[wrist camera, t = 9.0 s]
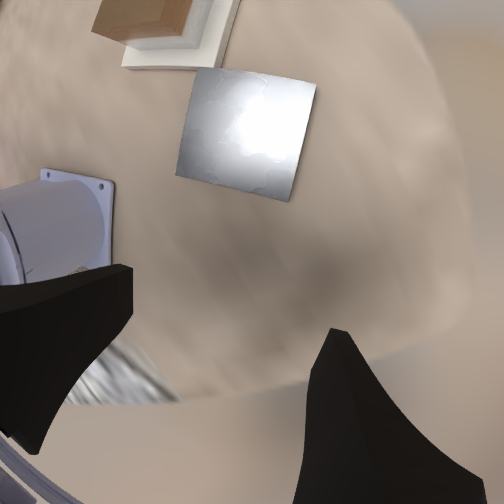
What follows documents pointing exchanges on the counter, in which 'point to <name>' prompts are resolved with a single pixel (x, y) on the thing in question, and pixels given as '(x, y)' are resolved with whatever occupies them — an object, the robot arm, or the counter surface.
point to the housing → (153, 23)
